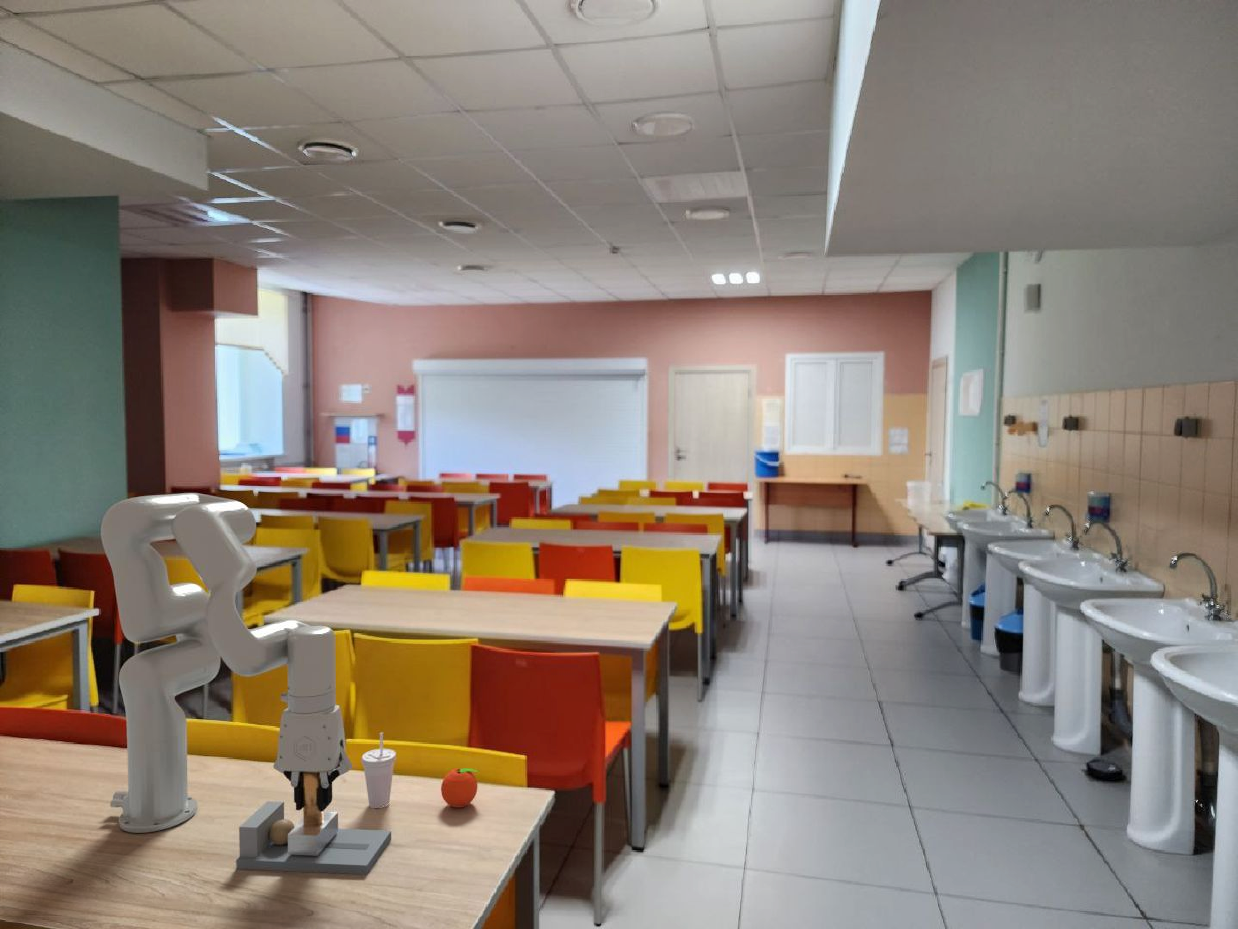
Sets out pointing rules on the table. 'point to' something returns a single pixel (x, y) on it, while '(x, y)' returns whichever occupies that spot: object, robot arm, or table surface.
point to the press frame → (269, 851)
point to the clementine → (459, 787)
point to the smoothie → (379, 774)
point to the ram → (312, 821)
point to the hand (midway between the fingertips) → (313, 806)
